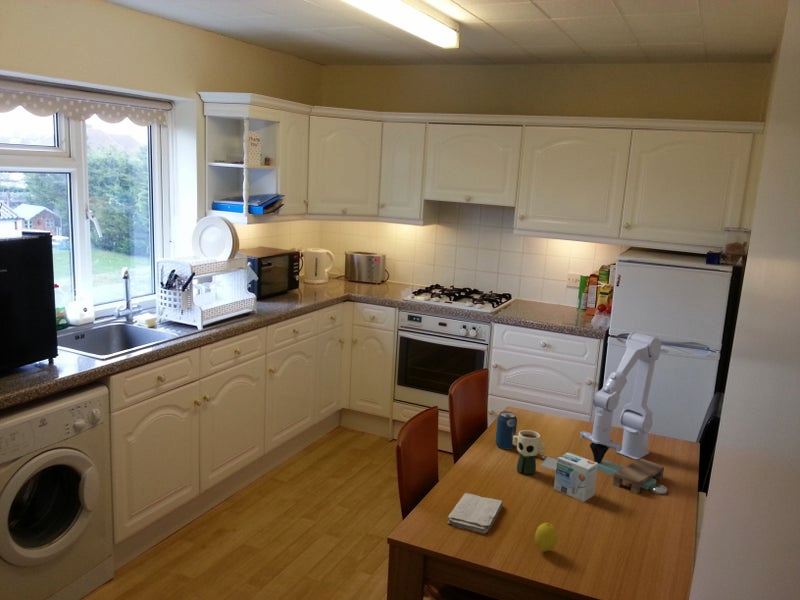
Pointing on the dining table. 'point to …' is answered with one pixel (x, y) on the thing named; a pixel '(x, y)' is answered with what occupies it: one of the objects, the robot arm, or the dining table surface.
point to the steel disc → (658, 489)
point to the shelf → (638, 474)
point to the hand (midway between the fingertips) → (597, 464)
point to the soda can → (506, 429)
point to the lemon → (546, 537)
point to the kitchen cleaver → (547, 461)
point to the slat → (612, 468)
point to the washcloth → (475, 513)
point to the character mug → (528, 450)
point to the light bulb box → (575, 476)
